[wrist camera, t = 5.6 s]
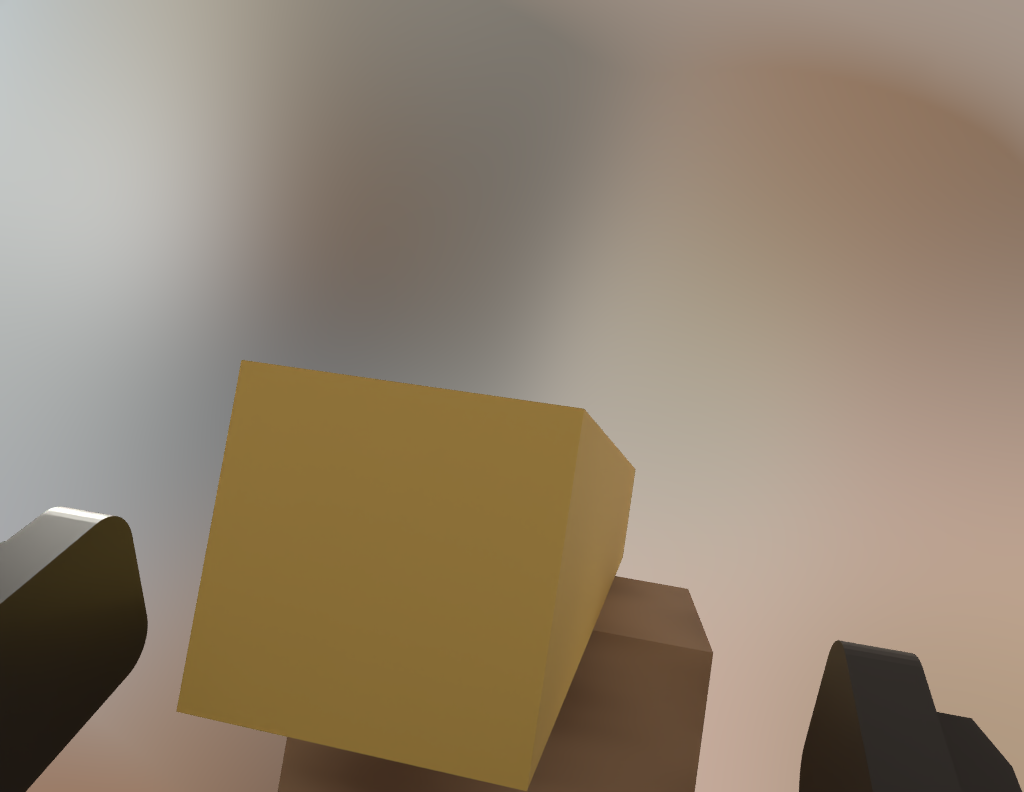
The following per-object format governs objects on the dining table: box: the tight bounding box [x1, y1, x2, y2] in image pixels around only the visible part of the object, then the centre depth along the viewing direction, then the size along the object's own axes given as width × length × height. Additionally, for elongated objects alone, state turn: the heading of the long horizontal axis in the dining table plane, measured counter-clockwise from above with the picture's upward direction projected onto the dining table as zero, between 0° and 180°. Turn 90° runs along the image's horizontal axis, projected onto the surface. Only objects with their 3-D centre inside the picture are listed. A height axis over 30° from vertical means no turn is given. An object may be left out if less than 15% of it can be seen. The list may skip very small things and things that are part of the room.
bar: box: [177, 360, 635, 791], centre depth 21 cm, size 4×26×4 cm, turn 171°
